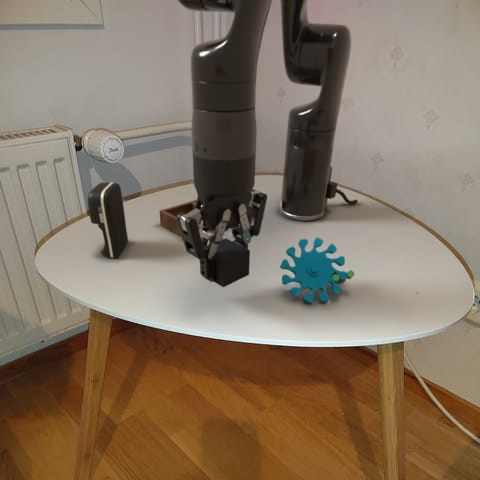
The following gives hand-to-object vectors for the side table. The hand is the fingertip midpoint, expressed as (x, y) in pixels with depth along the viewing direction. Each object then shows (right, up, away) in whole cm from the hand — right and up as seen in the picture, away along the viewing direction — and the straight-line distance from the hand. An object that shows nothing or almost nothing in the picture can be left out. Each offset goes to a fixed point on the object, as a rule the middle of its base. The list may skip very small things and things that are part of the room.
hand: (224, 271), depth 60 cm
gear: (+14, -3, +5) cm, 15 cm away
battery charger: (-20, +5, +15) cm, 26 cm away
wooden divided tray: (-5, +13, +25) cm, 29 cm away
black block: (0, 0, 0) cm, 0 cm away
